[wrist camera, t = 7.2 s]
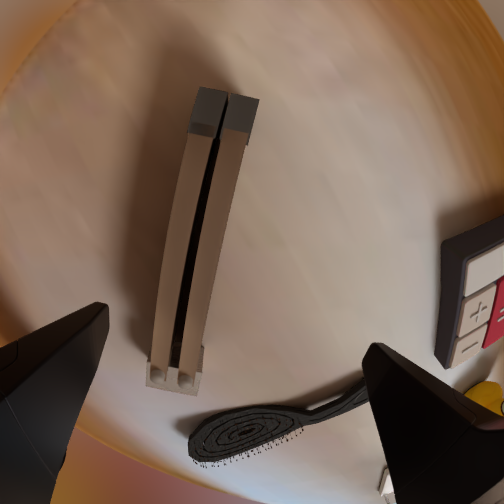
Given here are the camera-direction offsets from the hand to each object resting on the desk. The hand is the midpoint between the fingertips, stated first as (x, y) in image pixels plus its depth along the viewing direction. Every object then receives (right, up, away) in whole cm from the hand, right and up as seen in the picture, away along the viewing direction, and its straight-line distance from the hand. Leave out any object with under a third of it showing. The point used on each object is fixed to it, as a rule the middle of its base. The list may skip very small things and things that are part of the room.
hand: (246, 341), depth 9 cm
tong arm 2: (-4, +4, +11) cm, 13 cm away
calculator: (+24, -1, +17) cm, 30 cm away
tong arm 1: (-3, +4, +12) cm, 12 cm away
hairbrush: (+4, -15, +21) cm, 26 cm away
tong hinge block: (-6, -6, +16) cm, 18 cm away
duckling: (+36, -19, +24) cm, 47 cm away
